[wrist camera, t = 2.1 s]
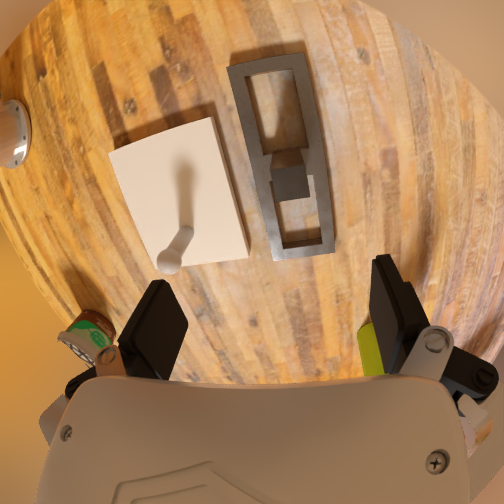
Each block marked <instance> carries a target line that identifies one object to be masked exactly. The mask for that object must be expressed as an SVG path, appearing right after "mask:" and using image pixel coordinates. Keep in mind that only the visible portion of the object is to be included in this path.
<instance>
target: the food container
mask: <svg viewBox="0 0 504 504" xmlns="http://www.w3.org/2000/svg"><path fill="white" fill-rule="evenodd" d="M115 337H116V331H115V328H114V326H113V325H112V323H111V322H110V321H109V320H108V319H107V318H106V317H104V316H103V315H101V314H100V313H98V312H96V311H93V310H84V311H82V313H81V314H80V315H79V316H78V317H77V318H76V319H75V320H74V322H73V323H72V324H71V325H70V326H69V327H68V329H67V330H66V331H63V332H60V334H59V336H58V338H57V339H58V341H62V342H64V343H65V344H66V345H67V346H68V347H69V348H71V350H73V352H74V353H75V354H76V355H77V356H78V357H80V358H81V359H83V360H84V361H86V362H88V363H90V364H91V365H92V366H95V357H96V355H97V353H98V352H99V351H100V350H101V349H102V348H103V347H105V346H107V345H112V344H113V342H114V339H115ZM58 341H57V342H58Z"/></svg>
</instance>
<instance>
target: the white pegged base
mask: <svg viewBox="0 0 504 504" xmlns="http://www.w3.org/2000/svg"><path fill="white" fill-rule="evenodd" d="M108 155H109V158H110V161H111V163H112V166H113V169H114V172H115V175H116V177H117V180H118V183H119V185H120V188H121V190H122V193H123V196H124V198H125V201H126V203H127V206H128V208H129V211H130V213H131V215H132V218H133V220H134V222H135V225H136V227H137V229H138V232H139V234H140V236H141V239H142V241H143V243H144V245H145V247H146V250H147V252H148V254H149V256H150V258H151V260H152V262H153V264H154V267H155V269H156V270H160V271H161V272H162V273H164V274H168V275H170V274H174V273H176V272H177V271H178V270H179V269H180V267H182V266H190V265H197V264H205V263H212V262H220V261H228V260H235V259H243V258H249V255H250V249H249V245H248V241H247V238H246V234H245V230H244V227H243V223H242V219H241V216H240V212H239V208H238V205H237V201H236V197H235V194H234V190H233V186H232V183H231V179H230V175H229V172H228V168H227V164H226V160H225V157H224V153H223V149H222V146H221V142H220V138H219V135H218V131H217V127H216V124H215V120H214V116H211V117H208V118H204V119H201V120H197V121H194V122H190V123H187V124H184V125H181V126H178V127H175V128H172V129H169V130H166V131H163V132H160V133H157V134H154V135H151V136H149V137H146V138H143V139H141V140H138V141H136V142H133V143H131V144H128V145H126V146H123V147H121V148H119V149H116V150H114V151H112V152H110V153H108Z"/></svg>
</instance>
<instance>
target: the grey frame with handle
mask: <svg viewBox="0 0 504 504" xmlns="http://www.w3.org/2000/svg"><path fill="white" fill-rule="evenodd" d="M226 68H227V72H228V76H229V79H230V83H231V87H232V91H233V95H234V99H235V103H236V106H237V110H238V114H239V118H240V122H241V126H242V130H243V134H244V138H245V142H246V146H247V150H248V154H249V158H250V163H251V167H252V171H253V175H254V179H255V183H256V188H257V192H258V196H259V200H260V204H261V209H262V213H263V217H264V222H265V226H266V230H267V235H268V239H269V244H270V248H271V252H272V257H273V261H277V260H284V259H292V258H299V257H307V256H314V255H321V254H329V253H335V243H334V231H333V220H332V210H331V201H330V192H329V184H328V176H327V169H326V162H325V155H324V149H323V143H322V137H321V131H320V125H319V120H318V114H317V109H316V104H315V99H314V94H313V90H312V85H311V81H310V76H309V72H308V68H307V64H306V59H305V56H304V52H303V53H295V54H288V55H282V56H275V57H270V58H264V59H259V60H254V61H250V62H245V63H241V64H237V65H233V66H229V67H226ZM287 69H292V72H293V76H294V80H295V84H296V89H297V93H298V98H299V102H300V107H301V112H302V117H303V122H304V127H305V132H306V137H307V143H308V146H302V147H295V148H289V149H283V150H277V151H271V152H266V153H264V151H263V146H262V142H261V138H260V134H259V129H258V125H257V121H256V117H255V113H254V109H253V104H252V100H251V96H250V92H249V88H248V85H247V81H246V77H249V76H254V75H259V74H264V73H269V72H275V71H280V70H287ZM307 175H313V179H314V185H315V192H316V199H317V207H318V214H319V222H320V231H321V238H318V239H311V240H304V241H297V242H289V243H283V240H282V235H281V230H280V225H279V220H278V215H277V211H276V206H275V201H274V196H273V192H272V187H271V182H270V181H272V183H273V187H274V192H275V197H276V202H281V201H287V200H294V199H300V198H307V197H310V192H309V185H308V179H307Z"/></svg>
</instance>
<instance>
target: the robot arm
mask: <svg viewBox="0 0 504 504" xmlns="http://www.w3.org/2000/svg"><path fill="white" fill-rule="evenodd" d="M30 141H31V126H30V120H29V116H28V113H27V110H26V108H25V106H24V105H23V104H22V103H21V102H20V101H19V100H16V99H12V100H9V101H6V102H5V103H4V101H2V100H1V92H0V167H1V166H3V165H4V166H6V167H7V168H10V169H14V168H16V167H18V166H20V165H21V164H22V163H23V162H24V161H25V159H26V157H27V155H28V152H29V148H30ZM369 310H370V315H371V319H372V323H373V326H374V330H375V334H376V338H377V343H378V347H379V351H380V355H381V360H382V364H383V369H384V373H385V375H375V376H365V377H357V378H349V379H340V380H329V381H318V382H305V383H288V384H209V383H192V382H178V381H168V380H169V378H170V375H171V372H172V370H173V367H174V364H175V361H176V358H177V356H178V353H179V350H180V348H181V345H182V342H183V339H184V337H185V334H186V331H187V329H188V321H187V319H186V317H185V315H184V313H183V311H182V309H181V307H180V305H179V303H178V301H177V299H176V297H175V295H174V293H173V291H172V289H171V286H170V284H169V283H168V282H166V281H165V280H164V279H161V280H153V281H152V282H151V283H150V285H149V287H148V288H147V290H146V292H145V293H144V295H143V297H142V298H141V300H140V302H139V303H138V305H137V307H136V308H135V310H134V312H133V313H132V315H131V317H130V319H129V320H128V322H127V324H126V326H125V328H124V329H123V331H122V333H121V335H120V336H119V338H118V340H117V342H118V343H119V346H118V347H117V346H116V345H107V346H105V347H103V348H102V349H101V350H100V351H99V352H98V353H97V355H96V357H95V366H93V367H91V368H90V369H88V370H86V371H85V372H83V373H81V374H80V375H78V376H76V377H75V378H73V379H72V380H70V381H69V382H68V384H67V386H66V389H65V395H63V394H62V395H61V396H60V397H59V398H58V399H57V400H55V401H54V403H52V404H51V406H49V407H48V409H46V410H45V411H44V412H43V414H42V415H41V416H40V419H39V424H40V428H41V430H42V432H43V434H44V436H45V438H46V440H47V442H48V444H49V446H50V448H49V450H48V454H47V457H46V460H45V463H44V466H43V469H42V473H41V477H40V480H39V484H38V488H37V493H36V497H35V502H34V504H470V502H471V501H472V500H473V499H474V498H475V497H476V496H477V495H478V494H479V493H480V492H481V491H482V489H484V488H485V486H486V485H487V484H488V483H489V482H490V481H491V480H492V478H493V477H494V476H495V475H496V473H497V472H498V471H499V470H500V469H501V467H502V466H503V465H504V383H503V385H502V384H501V383H500V382H499V381H498V380H499V376H498V372H497V370H496V368H495V367H494V366H493V365H492V364H490V363H488V362H486V361H484V360H482V359H480V358H478V357H476V356H474V355H472V354H470V353H468V352H466V351H464V350H462V349H460V348H458V347H455V346H453V345H454V339H453V336H452V334H451V333H450V332H449V331H448V330H447V329H446V328H444V327H441V326H430V323H429V321H428V319H427V316H426V314H425V312H424V310H423V307H422V305H421V303H420V301H419V299H418V297H417V295H416V292H415V290H414V288H413V286H412V284H411V283H410V282H409V281H408V282H403V280H402V278H401V276H400V274H399V272H398V270H397V268H396V266H395V264H394V262H393V260H392V258H391V256H390V254H384V255H377V256H376V259H373V260H372V273H371V289H370V302H369ZM388 373H389V374H388ZM459 416H461V417H467V418H468V420H470V425H471V426H472V427H473V429H474V430H475V432H476V440H475V444H474V445H473V447H472V448H471V449H470V450H469V451H468V452H467V450H466V444H465V438H464V433H463V428H462V424H461V420H460V417H459ZM428 455H429V456H428ZM437 459H438V460H437ZM439 462H440V463H439ZM437 474H438V475H437Z"/></svg>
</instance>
